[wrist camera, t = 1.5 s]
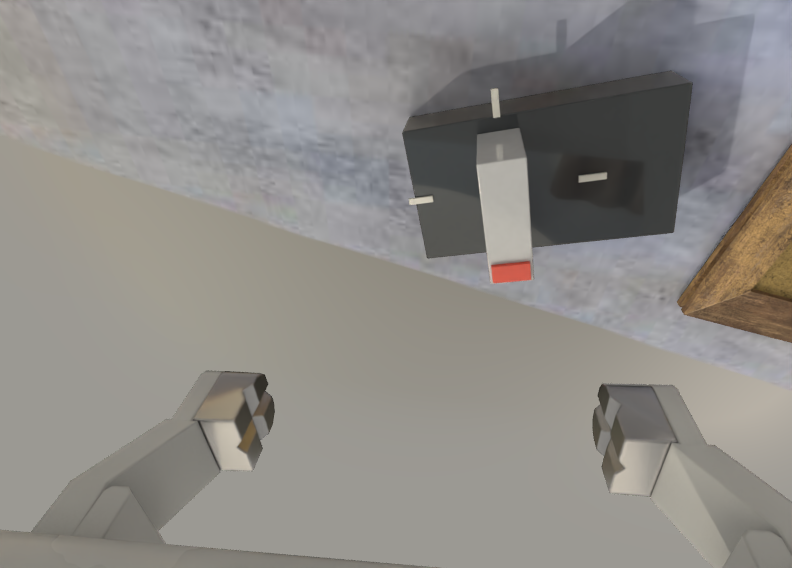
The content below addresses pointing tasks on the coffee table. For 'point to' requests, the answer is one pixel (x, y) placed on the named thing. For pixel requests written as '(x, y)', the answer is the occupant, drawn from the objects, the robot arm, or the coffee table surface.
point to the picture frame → (751, 265)
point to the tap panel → (558, 162)
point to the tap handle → (505, 205)
